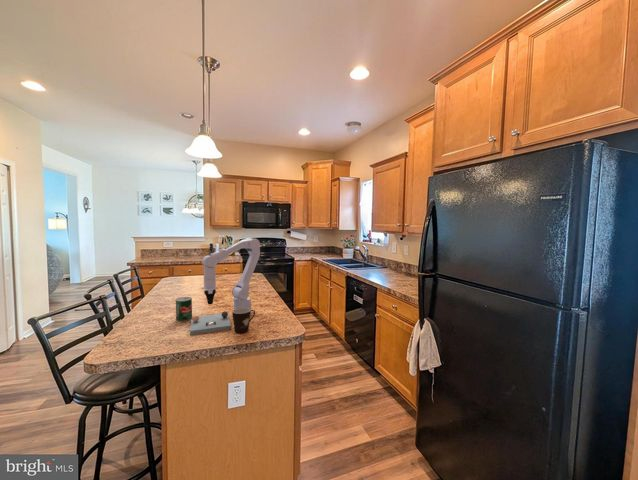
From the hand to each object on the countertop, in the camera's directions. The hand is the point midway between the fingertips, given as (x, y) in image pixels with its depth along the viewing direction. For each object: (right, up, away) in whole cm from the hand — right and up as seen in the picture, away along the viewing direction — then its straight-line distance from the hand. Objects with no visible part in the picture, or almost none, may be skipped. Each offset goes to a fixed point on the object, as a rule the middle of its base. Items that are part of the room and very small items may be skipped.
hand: (210, 304), depth 141 cm
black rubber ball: (+7, -6, +1) cm, 9 cm away
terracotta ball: (-5, -6, -6) cm, 10 cm away
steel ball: (+4, -8, -9) cm, 13 cm away
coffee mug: (+22, -10, -12) cm, 27 cm away
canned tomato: (-16, -9, +4) cm, 19 cm away
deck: (+2, -10, -5) cm, 11 cm away
